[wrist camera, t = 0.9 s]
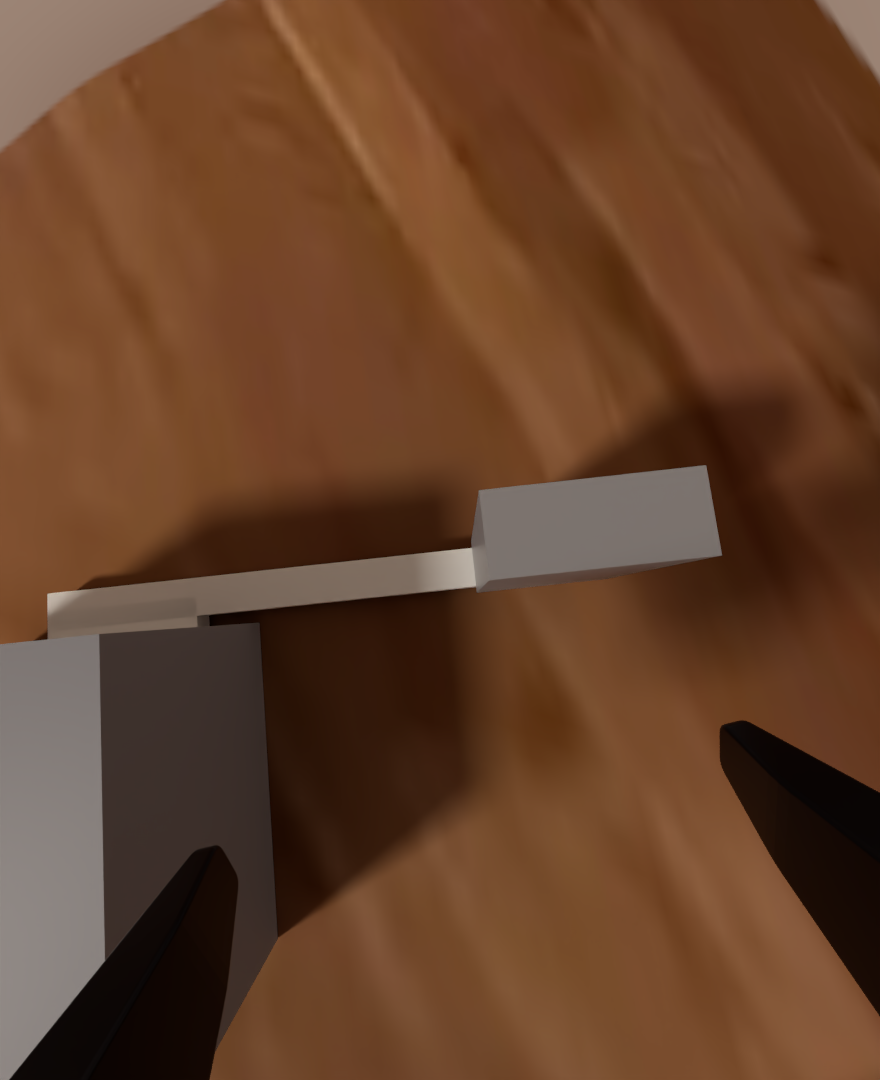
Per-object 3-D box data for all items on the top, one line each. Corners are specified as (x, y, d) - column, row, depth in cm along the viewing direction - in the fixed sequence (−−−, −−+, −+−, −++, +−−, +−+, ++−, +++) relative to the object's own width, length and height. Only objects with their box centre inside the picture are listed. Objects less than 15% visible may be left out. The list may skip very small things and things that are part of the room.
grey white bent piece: (627, 768, 20) (786, 922, 10) (68, 822, 21) (-291, 1017, 11) (592, 531, 21) (706, 465, 12) (66, 588, 22) (-259, 572, 12)
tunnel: (277, 938, 20) (109, 1241, 10) (23, 961, 20) (-369, 1277, 11) (259, 622, 22) (99, 634, 12) (23, 647, 22) (-318, 677, 12)
